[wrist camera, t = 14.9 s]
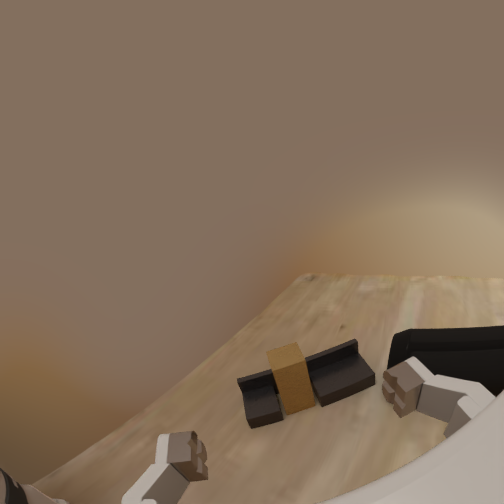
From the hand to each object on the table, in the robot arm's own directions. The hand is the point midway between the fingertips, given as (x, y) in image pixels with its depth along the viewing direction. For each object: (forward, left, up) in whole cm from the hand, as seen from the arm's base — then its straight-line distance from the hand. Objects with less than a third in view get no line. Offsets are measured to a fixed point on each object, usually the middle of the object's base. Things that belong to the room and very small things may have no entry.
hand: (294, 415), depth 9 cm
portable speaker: (+25, +10, -25) cm, 37 cm away
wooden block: (+2, +23, -25) cm, 34 cm away
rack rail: (+4, +23, -25) cm, 34 cm away
